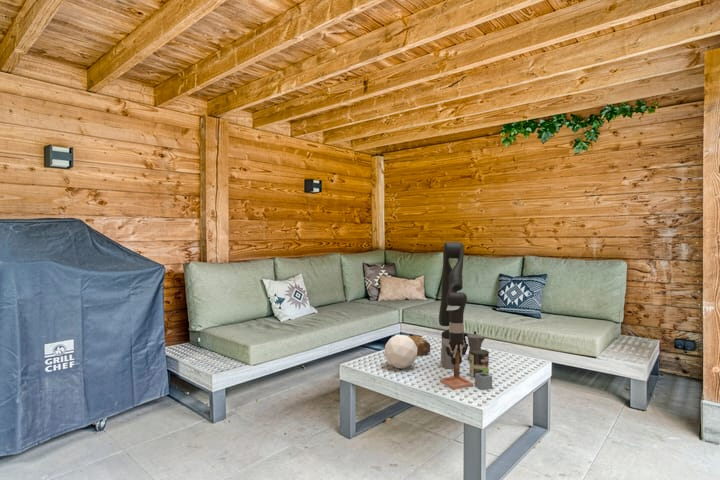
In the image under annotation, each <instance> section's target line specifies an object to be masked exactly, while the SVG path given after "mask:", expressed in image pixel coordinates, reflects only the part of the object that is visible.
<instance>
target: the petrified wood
mask: <svg viewBox="0 0 720 480" xmlns="http://www.w3.org/2000/svg"><path fill="white" fill-rule="evenodd" d="M407 336H408V337H410V338H411V339H412V340H413V341H414V343H415V344H416V346H417V348H418V349H417V356H419V355H420V356H425V355H427V354H429V353H430V352H431V344H430V343H429V342H428V341H427V340H426V339H425V338H423V337H422V336H419V335H418V334H414V335H413V334H412V335H407Z"/></svg>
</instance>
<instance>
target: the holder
mask: <svg viewBox="0 0 720 480" xmlns="http://www.w3.org/2000/svg"><path fill="white" fill-rule="evenodd" d="M474 386H475V387H476V388H477V389H480V390H481V391H485V390H489V389H493V376H492V375H491V374H487V373H485V372H483V373H477V374H475V378H474Z"/></svg>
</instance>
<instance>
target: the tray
mask: <svg viewBox="0 0 720 480" xmlns="http://www.w3.org/2000/svg"><path fill="white" fill-rule="evenodd" d="M439 382H440V383H441V384H443V385H445V386H446V387H448V388H449V389H452V390H458V389H465V388H470V387H474V382H472V381H470V380H468V379H466V378H465V377H463V376H461V375H460V377H459V378H455V377H454V375H453V376H448V377H443V378H441V377H440V378H439Z"/></svg>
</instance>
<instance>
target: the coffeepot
mask: <svg viewBox="0 0 720 480" xmlns="http://www.w3.org/2000/svg"><path fill="white" fill-rule="evenodd" d="M466 337H467V340H466ZM484 340H486V338H485V337H484V336H483V335H481V334H477V331H476V330H475V331H473V334H470V333H466V332H464V340H463V341H464V343H466V344H468V347H469V349H468V355H467V361H469V362H470V352H469V351H470V350H471V349H482V344H483V342H484Z"/></svg>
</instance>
